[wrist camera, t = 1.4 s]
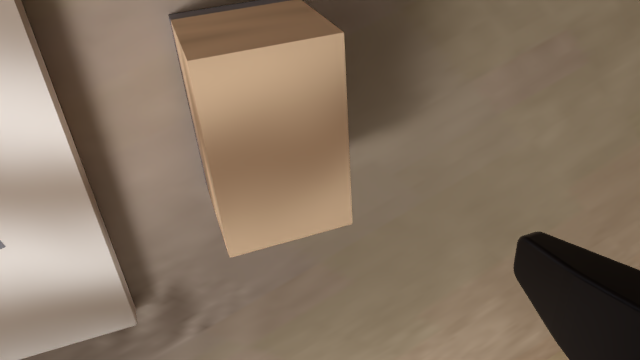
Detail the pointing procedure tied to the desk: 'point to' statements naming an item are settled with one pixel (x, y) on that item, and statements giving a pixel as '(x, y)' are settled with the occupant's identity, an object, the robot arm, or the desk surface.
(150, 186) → the desk surface
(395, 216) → the desk surface
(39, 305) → the board
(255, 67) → the block
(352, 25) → the desk surface
